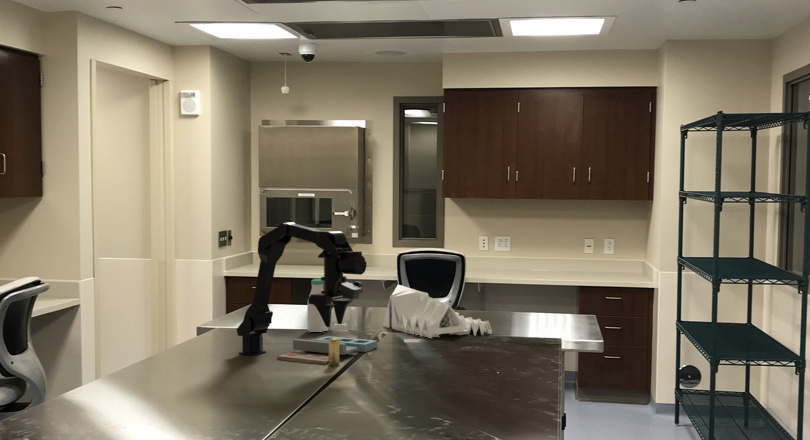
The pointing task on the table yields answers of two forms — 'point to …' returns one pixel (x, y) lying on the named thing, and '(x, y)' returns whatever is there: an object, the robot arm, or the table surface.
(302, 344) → the sliding cover
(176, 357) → the table surface
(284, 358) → the plate
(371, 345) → the socket board
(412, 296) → the white faceted model
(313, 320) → the milk bottle
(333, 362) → the brass pin
